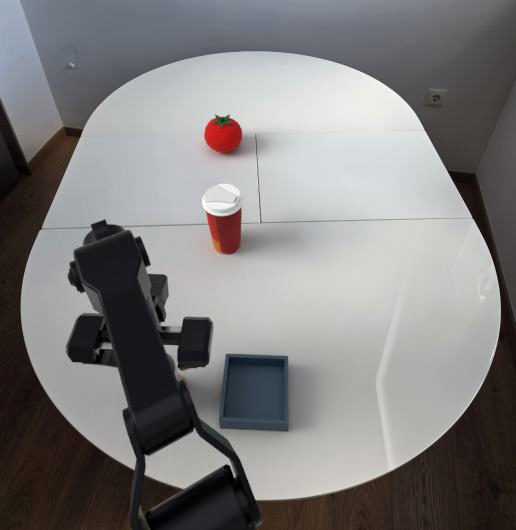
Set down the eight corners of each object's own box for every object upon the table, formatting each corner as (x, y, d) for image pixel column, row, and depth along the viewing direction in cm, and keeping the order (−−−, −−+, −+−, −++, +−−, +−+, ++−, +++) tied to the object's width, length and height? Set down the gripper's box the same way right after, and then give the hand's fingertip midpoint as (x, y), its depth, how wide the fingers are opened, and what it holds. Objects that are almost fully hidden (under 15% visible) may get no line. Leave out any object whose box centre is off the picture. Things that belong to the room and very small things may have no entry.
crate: (287, 431, 68) (288, 424, 66) (220, 428, 68) (218, 420, 66) (287, 364, 76) (288, 355, 73) (226, 362, 76) (225, 353, 74)
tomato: (217, 133, 125) (214, 103, 119) (249, 142, 122) (248, 112, 115) (198, 153, 119) (194, 124, 112) (232, 164, 115) (230, 134, 108)
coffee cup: (251, 235, 97) (249, 187, 87) (236, 263, 92) (233, 215, 81) (217, 225, 99) (211, 177, 89) (201, 252, 94) (193, 204, 84)
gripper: (213, 259, 58) (221, 318, 69) (78, 255, 59) (107, 314, 70) (202, 337, 50) (213, 390, 61) (46, 331, 51) (84, 384, 62)
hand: (152, 365), depth 64 cm, fingers open, 9 cm apart
